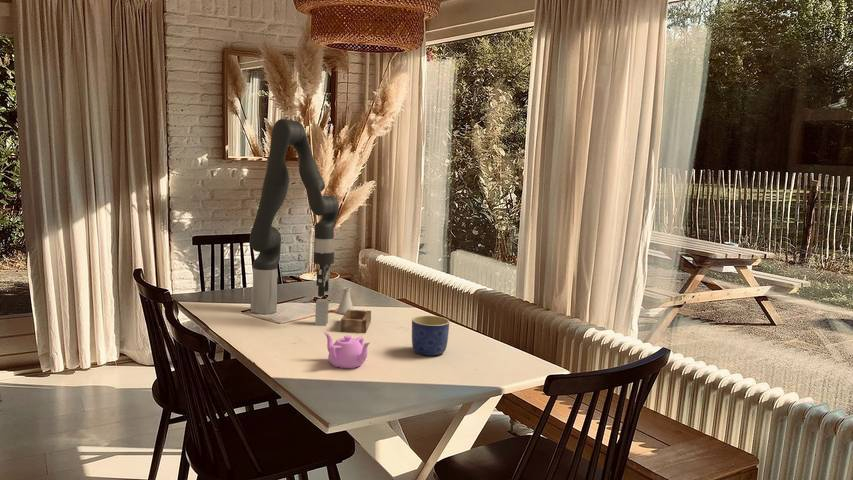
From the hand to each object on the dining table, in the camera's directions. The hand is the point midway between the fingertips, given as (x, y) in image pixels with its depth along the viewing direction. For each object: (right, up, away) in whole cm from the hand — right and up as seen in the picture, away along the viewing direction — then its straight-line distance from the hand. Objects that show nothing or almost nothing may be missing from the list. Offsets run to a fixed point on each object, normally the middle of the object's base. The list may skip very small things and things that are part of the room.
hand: (323, 293), depth 259 cm
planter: (+39, -18, -26) cm, 50 cm away
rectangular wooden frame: (+12, -12, 0) cm, 17 cm away
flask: (+6, -9, +20) cm, 23 cm away
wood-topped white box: (-1, -11, +2) cm, 12 cm away
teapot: (+13, -19, -41) cm, 47 cm away
